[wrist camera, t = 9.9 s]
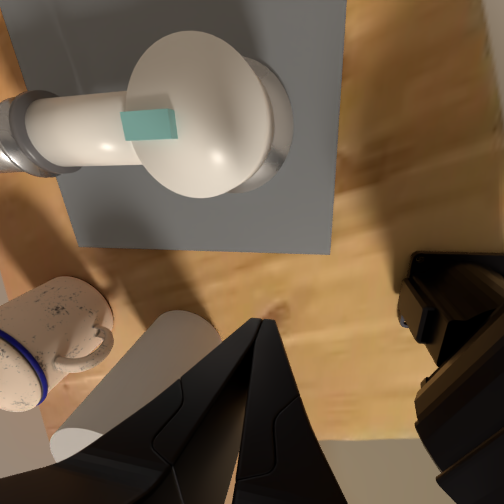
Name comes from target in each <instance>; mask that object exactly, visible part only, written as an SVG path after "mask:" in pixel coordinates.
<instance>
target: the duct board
mask: <svg viewBox="0 0 504 504" xmlns="http://www.w3.org/2000/svg"><path fill="white" fill-rule="evenodd" d="M346 4H347V0H0V8H1V11H2V14H3V17H4V20H5V23H6V26H7V29H8V32H9V36H10V39H11V42H12V45H13V48H14V51H15V54H16V57H17V60H18V63H19V66H20V69H21V72H22V75H23V78H24V81H25V84H26V87H27V90H28V91H33V90H44V91H48V92H51V93H54V94H56V95H58V96H59V97H65V96H76V95H87V94H97V93H108V92H119V91H127V88H128V84H129V81H130V77H131V75H132V72H133V70H134V68H135V66H136V64H137V62H138V61H139V59H140V57H141V56H142V55H143V54H144V53H145V51H146V50H147V49H148V48H149V47H150V46H151V45H153V44H154V43H155V42H156V41H158V40H160V39H161V38H163V37H165V36H167V35H170V34H172V33H176V32H180V31H200V32H205V33H208V34H211V35H214V36H216V37H218V38H220V39H222V40H224V41H225V42H226V43H228V44H229V45H231V46H232V47H233V48H234V49H235V50H236V51H237V52H238V53H239V54H240V55H241V56H244V57H248V58H251V59H253V60H256V61H258V62H260V63H261V64H263V65H264V66H266V67H267V68H268V69H269V70H270V71H271V72H272V73H273V74H274V75H275V76H276V77H277V78H278V80H279V81H280V82H281V84H282V86H283V87H284V89H285V91H286V93H287V96H288V98H289V101H290V104H291V107H292V113H293V122H294V130H293V139H292V144H291V147H290V151H289V154H288V156H287V158H286V160H285V162H284V164H283V165H282V167H281V168H280V170H279V171H278V172H277V173H276V175H274V176H273V177H272V178H271V179H270V180H269V181H268V182H266V183H265V184H264V185H262V186H260V187H258V188H257V189H254V190H251V191H248V192H244V193H226V192H225V193H223V194H221V195H218V196H214V197H209V198H192V197H187V196H183V195H180V194H177V193H175V192H173V191H171V190H169V189H168V188H166V187H165V186H163V185H162V184H160V183H159V182H158V181H157V180H156V179H154V177H153V176H152V175H151V174H150V173H149V172H148V171H147V170H146V168H145V167H144V166H143V165H112V166H83V167H82V168H81V169H80V170H78V171H76V172H74V173H67V174H61V175H59V176H56V178H57V182H58V185H59V188H60V191H61V194H62V197H63V200H64V203H65V206H66V209H67V212H68V215H69V218H70V221H71V224H72V227H73V230H74V233H75V236H76V239H77V242H78V245H79V247H98V248H130V249H162V250H194V251H226V252H258V253H289V254H321V255H330V249H331V233H332V218H333V203H334V188H335V172H336V157H337V142H338V126H339V111H340V96H341V81H342V65H343V50H344V35H345V19H346Z"/></svg>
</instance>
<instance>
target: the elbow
mask: <svg viewBox="0 0 504 504" xmlns="http://www.w3.org/2000/svg"><path fill="white" fill-rule="evenodd" d="M9 125H10V129H11V133H12V135H13V138H14V140H15V142H16V144H17V145H18V147H19V148H20V150H21V151H22V152H23V154H24V155H25V156H26V157H27V158H28V159H29V160H30V161H31V162H33V163H34V164H35V165H37V166H38V167H40V168H41V169H43V170H45V171H48V172H51V173H57V174H67V173H74V172H76V171H78V170H80V169H81V168H82V167H83V166H112V165H143V166H144V167H145V168H146V170H147V171H148V172H149V173H150V174H151V175H152V176H153V177H154V179H156V180H157V181H158V182H159V183H160V184H162V185H163V186H165V187H166V188H168V189H169V190H171V191H173V192H175V193H177V194H180V195H183V196H187V197H192V198H209V197H214V196H218V195H221V194H223V193H225V192H227V191H229V190H231V189H233V188H235V187H236V186H238V185H240V184H242V183H244V182H246V181H247V180H248V179H250V178H251V177H252V176H253V175H254V174H255V173H256V172H257V171H258V170H259V169H260V168H261V166H262V165H263V163H264V162H265V160H266V158H267V156H268V154H269V152H270V149H271V145H272V142H273V136H274V113H273V107H272V103H271V100H270V97H269V95H268V92H267V90H266V88H265V86H264V85H263V83H262V81H261V80H260V79H259V77H258V76H257V75H256V74H255V72H254V71H253V70H252V68H251V67H250V66H249V65H248V63H247V62H246V61H245V60H244V58H243V57H242V56H241V55H240V54H239V53H238V52H237V51H236V50H235V49H234V48H233V47H232V46H231V45H229V44H228V43H226V42H225V41H224V40H222V39H220V38H218V37H216V36H214V35H211V34H208V33H205V32H200V31H180V32H176V33H172V34H170V35H167V36H165V37H163V38H161V39H160V40H158V41H156V42H155V43H154V44H153V45H151V46H150V47H149V48H148V49H147V50H146V51H145V53H144V54H143V55H142V56H141V57H140V59H139V61H138V62H137V64H136V66H135V68H134V70H133V72H132V75H131V77H130V81H129V84H128V88H127V91H119V92H108V93H97V94H87V95H76V96H65V97H59V96H58V95H56V94H54V93H51V92H48V91H44V90H33V91H26V92H23V93H21V94H19V95H18V96H16V97H15V99H14V100H13V101H12V103H11V106H10V109H9Z"/></svg>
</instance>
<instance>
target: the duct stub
mask: <svg viewBox="0 0 504 504" xmlns="http://www.w3.org/2000/svg"><path fill="white" fill-rule="evenodd" d="M242 57H243V58H244V60H245V61H246V62H247V63H248V65H249V66H250V67H251V68H252V70H253V71H254V72H255V74H256V75H257V76H258V77H259V79H260V80H261V81H262V83H263V85H264V86H265V88H266V90H267V92H268V95H269V97H270V100H271V103H272V107H273V113H274V136H273V142H272V145H271V149H270V152H269V154H268V156H267V158H266V160H265V162H264V163H263V165H262V166H261V168H260V169H259V170H258V171H257V172H256V173H255V174H254V175H253V176H252V177H251V178H250V179H248V180H247V181H246V182H244V183H242V184H240V185H238V186H236V187H235V188H233V189H231V190H229V191H227V192H226V193H244V192H248V191H251V190H254V189H257V188H258V187H260V186H262V185H264V184H265V183H266V182H268V181H269V180H270V179H271V178H272V177H273V176H274V175H276V173H277V172H278V171H279V170H280V168H281V167H282V165H283V164H284V162H285V160H286V158H287V156H288V154H289V151H290V147H291V144H292V139H293V130H294V122H293V113H292V107H291V104H290V101H289V98H288V96H287V93H286V91H285V89H284V87H283V86H282V84H281V82H280V81H279V80H278V78H277V77H276V76H275V75H274V74H273V73H272V72H271V71H270V70H269V69H268V68H267V67H266V66H264V65H263V64H261V63H260V62H258V61H256V60H253V59H251V58H248V57H244V56H242Z"/></svg>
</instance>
